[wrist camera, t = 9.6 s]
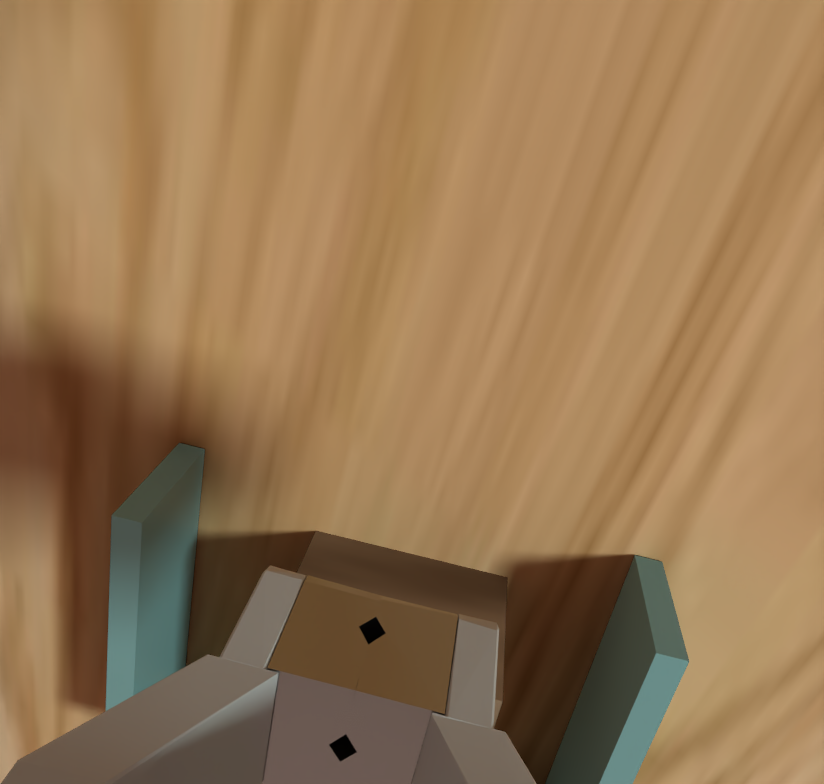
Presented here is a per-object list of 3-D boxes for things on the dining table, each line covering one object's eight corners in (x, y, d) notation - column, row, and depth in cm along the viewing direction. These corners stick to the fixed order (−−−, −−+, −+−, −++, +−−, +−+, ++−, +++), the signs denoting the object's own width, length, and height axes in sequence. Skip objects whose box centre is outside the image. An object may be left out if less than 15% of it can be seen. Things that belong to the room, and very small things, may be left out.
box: (179, 442, 22) (111, 515, 19) (662, 561, 22) (688, 661, 18) (160, 702, 27) (103, 801, 23) (560, 808, 26) (565, 928, 22)
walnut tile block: (316, 528, 23) (265, 641, 19) (507, 575, 23) (502, 700, 18) (293, 672, 26) (243, 802, 21) (465, 715, 25) (452, 857, 21)
